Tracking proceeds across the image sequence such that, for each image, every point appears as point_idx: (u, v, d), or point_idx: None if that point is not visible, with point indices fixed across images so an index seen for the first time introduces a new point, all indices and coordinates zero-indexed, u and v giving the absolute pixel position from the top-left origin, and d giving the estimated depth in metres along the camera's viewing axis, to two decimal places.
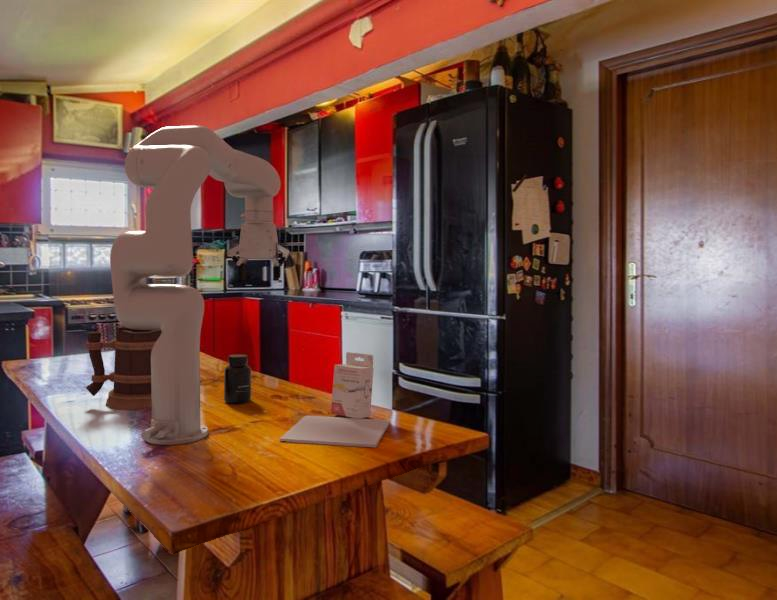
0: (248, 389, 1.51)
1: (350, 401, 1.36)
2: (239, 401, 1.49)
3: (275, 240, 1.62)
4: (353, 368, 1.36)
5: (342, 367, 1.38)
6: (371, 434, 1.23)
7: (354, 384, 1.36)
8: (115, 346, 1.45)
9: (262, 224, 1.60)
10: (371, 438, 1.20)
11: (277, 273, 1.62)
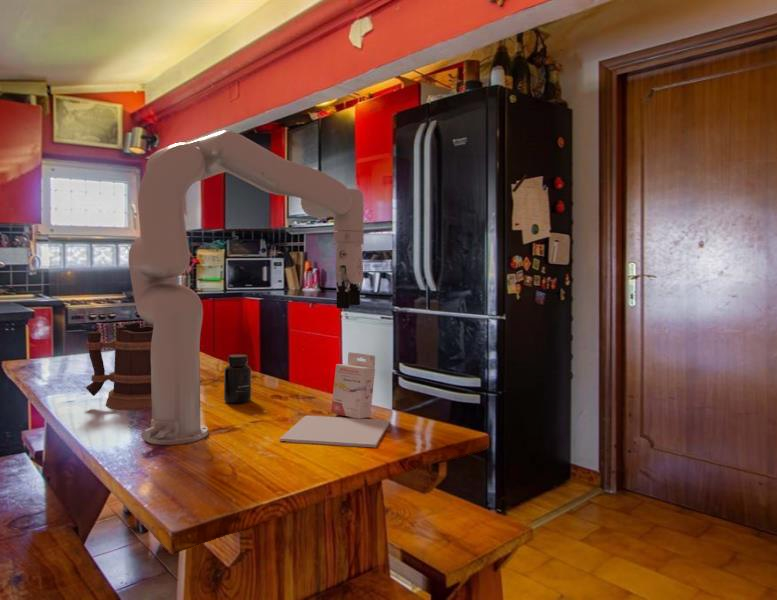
0: (248, 389, 1.51)
1: (350, 401, 1.36)
2: (239, 401, 1.49)
3: None
4: (355, 368, 1.36)
5: (344, 367, 1.38)
6: (371, 434, 1.23)
7: (355, 384, 1.36)
8: (115, 346, 1.45)
9: (360, 245, 1.49)
10: (371, 438, 1.20)
11: None
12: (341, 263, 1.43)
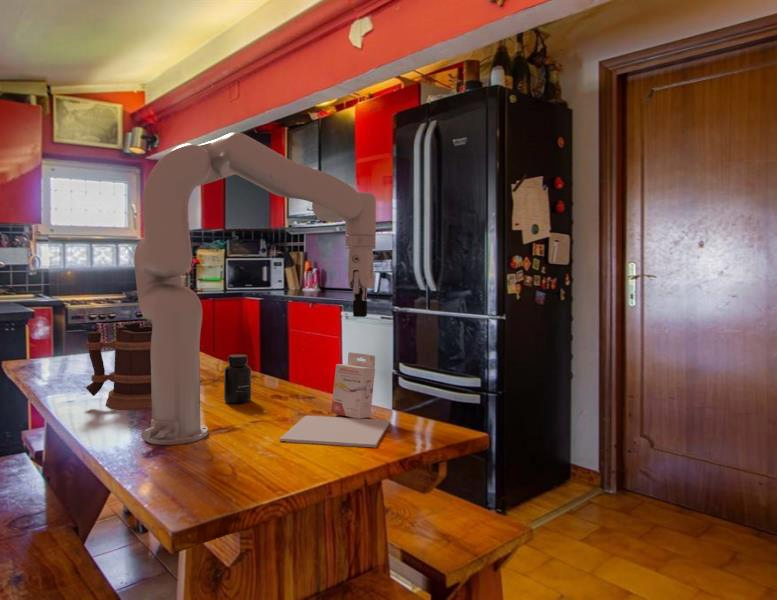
0: (248, 389, 1.51)
1: (350, 401, 1.36)
2: (239, 401, 1.49)
3: None
4: (355, 368, 1.36)
5: (344, 367, 1.38)
6: (371, 434, 1.23)
7: (355, 384, 1.36)
8: (115, 346, 1.45)
9: None
10: (371, 438, 1.20)
11: None
12: (354, 267, 1.41)
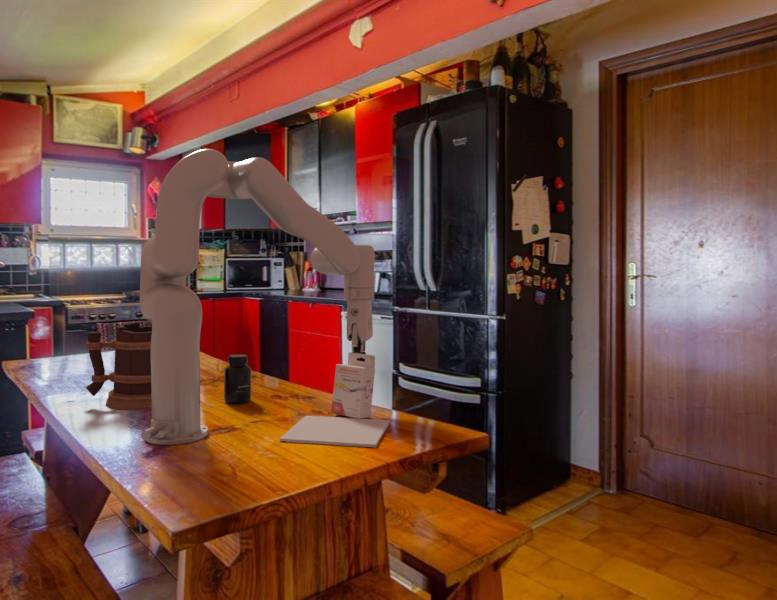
0: (248, 389, 1.51)
1: (350, 401, 1.36)
2: (239, 401, 1.49)
3: None
4: (355, 368, 1.36)
5: (344, 367, 1.38)
6: (371, 434, 1.23)
7: (355, 384, 1.36)
8: (115, 346, 1.45)
9: (370, 301, 1.47)
10: (371, 438, 1.20)
11: None
12: (352, 321, 1.41)
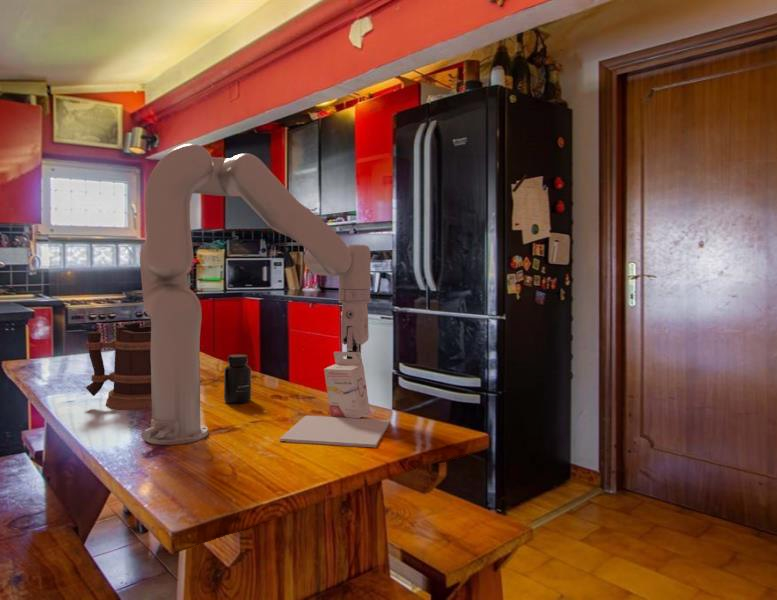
0: (248, 389, 1.51)
1: (346, 402, 1.35)
2: (239, 401, 1.49)
3: None
4: (343, 370, 1.34)
5: (332, 370, 1.36)
6: (371, 434, 1.23)
7: (347, 386, 1.34)
8: (115, 346, 1.45)
9: (366, 303, 1.42)
10: (371, 438, 1.20)
11: None
12: (347, 323, 1.36)
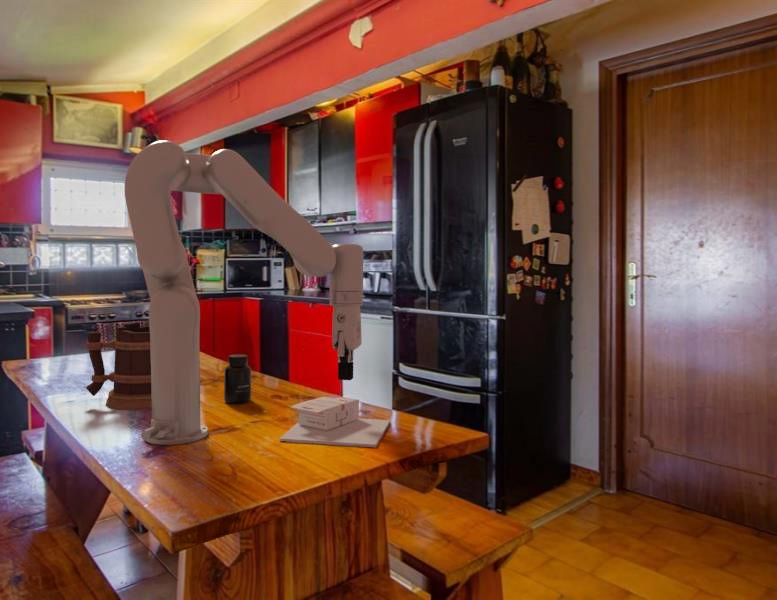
0: (248, 389, 1.51)
1: None
2: (239, 401, 1.49)
3: None
4: (319, 428, 1.26)
5: None
6: (371, 434, 1.23)
7: None
8: (115, 346, 1.45)
9: (359, 306, 1.34)
10: (371, 438, 1.20)
11: None
12: (339, 328, 1.28)
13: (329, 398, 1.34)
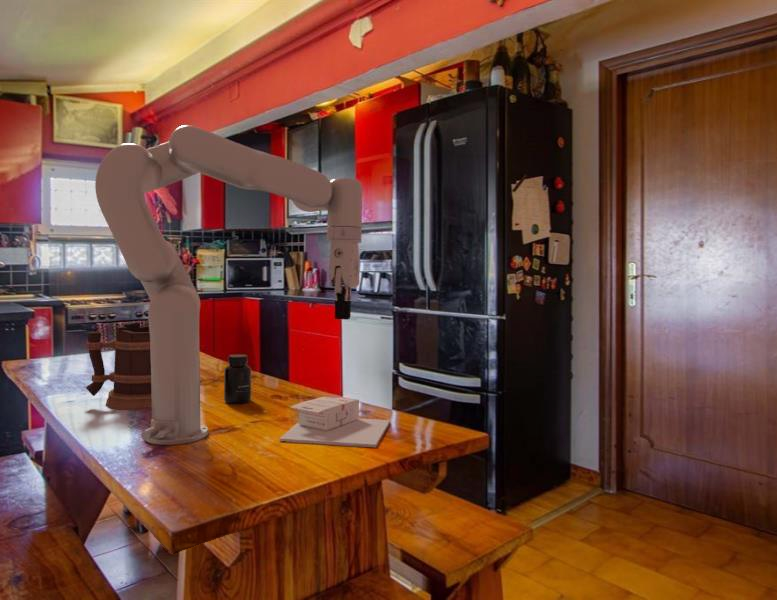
0: (248, 389, 1.51)
1: None
2: (239, 401, 1.49)
3: None
4: (319, 428, 1.26)
5: None
6: (371, 434, 1.23)
7: None
8: (115, 346, 1.45)
9: (357, 244, 1.30)
10: (371, 438, 1.20)
11: None
12: (336, 263, 1.24)
13: (329, 398, 1.34)
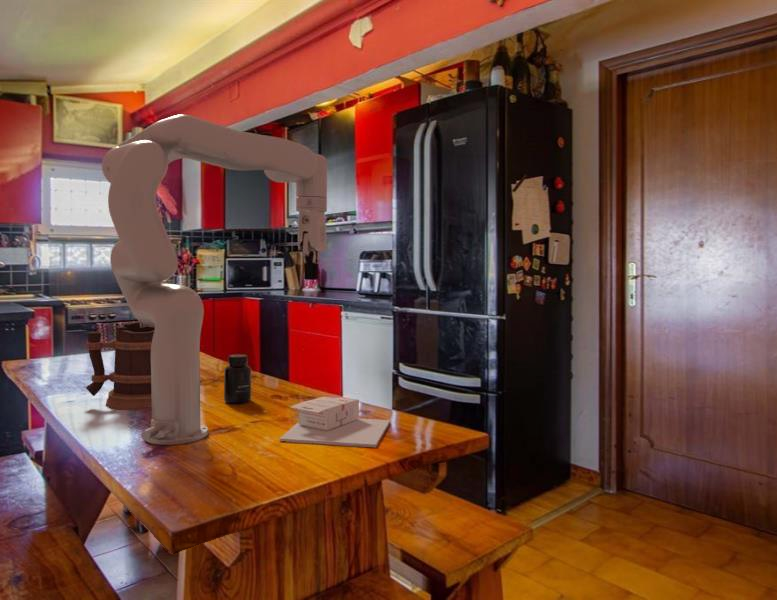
0: (248, 389, 1.51)
1: None
2: (239, 401, 1.49)
3: None
4: (319, 428, 1.26)
5: None
6: (371, 434, 1.23)
7: None
8: (115, 346, 1.45)
9: (323, 213, 1.46)
10: (371, 438, 1.20)
11: None
12: (303, 229, 1.41)
13: (329, 398, 1.34)
